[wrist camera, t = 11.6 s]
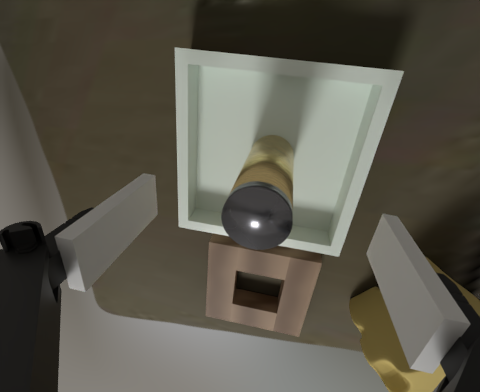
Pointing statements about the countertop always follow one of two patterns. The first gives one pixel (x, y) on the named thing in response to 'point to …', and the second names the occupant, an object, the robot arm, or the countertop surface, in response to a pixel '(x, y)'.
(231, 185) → the tray
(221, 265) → the pin block
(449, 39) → the countertop surface
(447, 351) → the robot arm
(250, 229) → the brown and black cylinder
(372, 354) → the cheese
